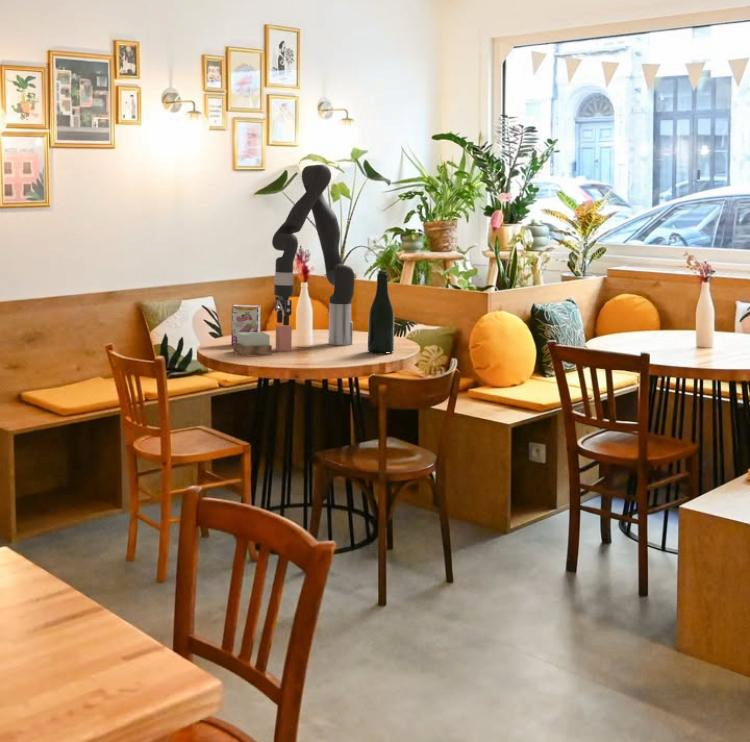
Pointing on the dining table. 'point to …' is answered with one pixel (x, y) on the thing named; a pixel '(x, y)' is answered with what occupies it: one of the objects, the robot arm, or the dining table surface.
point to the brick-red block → (283, 337)
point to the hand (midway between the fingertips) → (282, 324)
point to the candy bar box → (245, 320)
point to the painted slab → (253, 338)
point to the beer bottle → (381, 318)
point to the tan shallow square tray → (252, 349)
